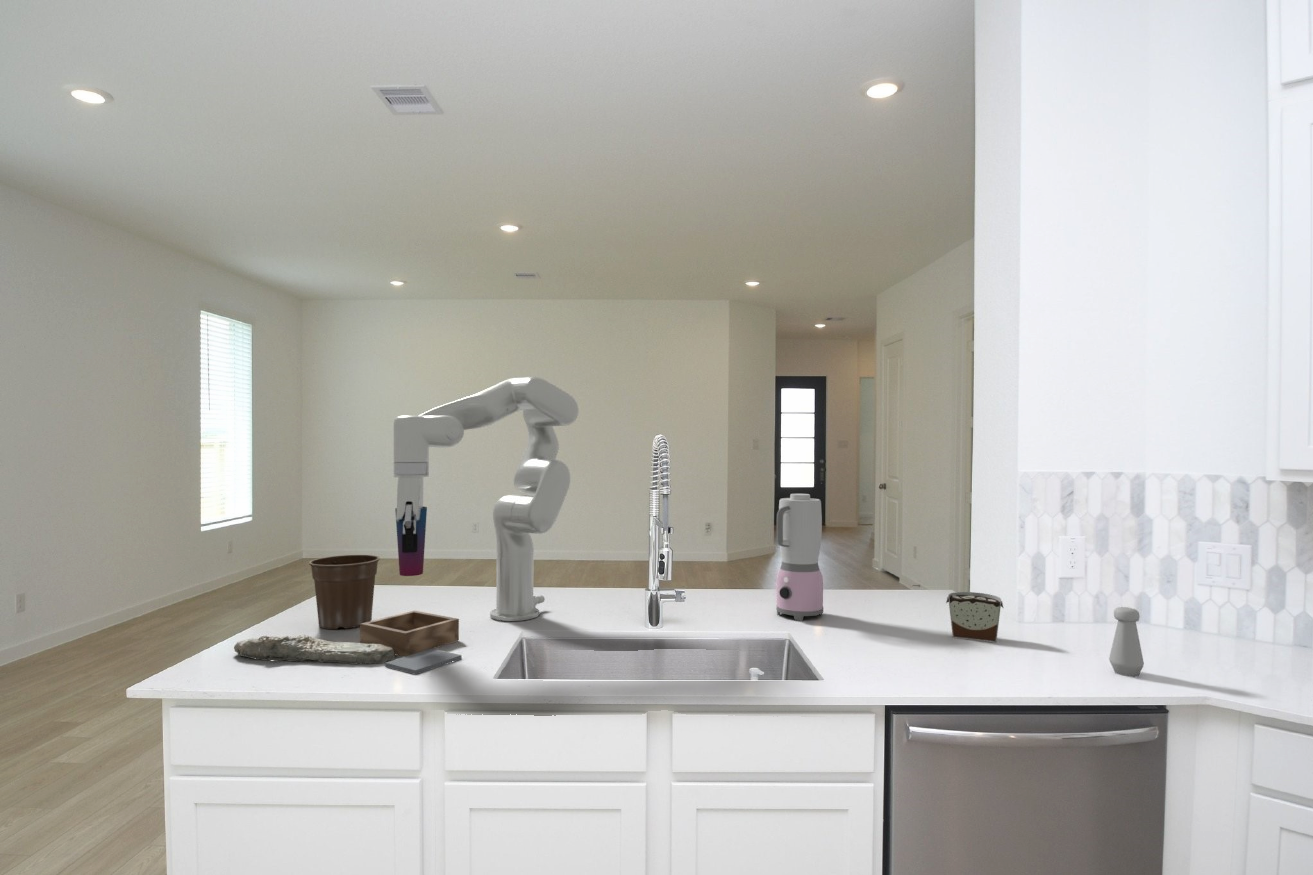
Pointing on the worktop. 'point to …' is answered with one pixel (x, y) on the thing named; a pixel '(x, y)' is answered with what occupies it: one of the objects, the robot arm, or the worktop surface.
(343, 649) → the long grey stone
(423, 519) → the cup
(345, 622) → the plant pot
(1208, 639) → the worktop surface
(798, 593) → the blender
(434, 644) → the open wooden box
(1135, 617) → the salt shaker
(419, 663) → the slate mat
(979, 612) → the food container
